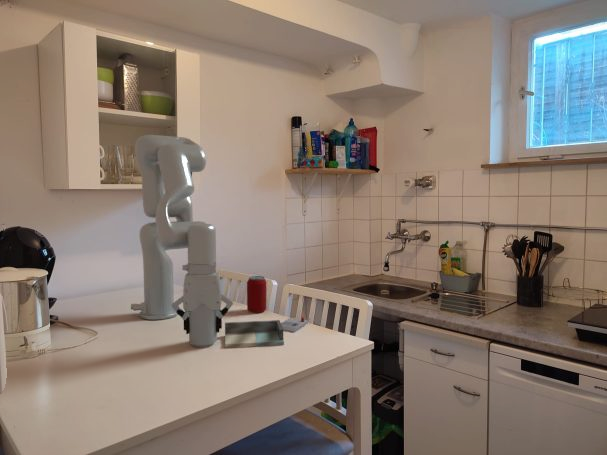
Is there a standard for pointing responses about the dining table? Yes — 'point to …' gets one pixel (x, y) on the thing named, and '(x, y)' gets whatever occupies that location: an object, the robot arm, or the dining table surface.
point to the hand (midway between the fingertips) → (203, 331)
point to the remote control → (293, 324)
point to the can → (202, 326)
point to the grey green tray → (253, 333)
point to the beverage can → (256, 294)
